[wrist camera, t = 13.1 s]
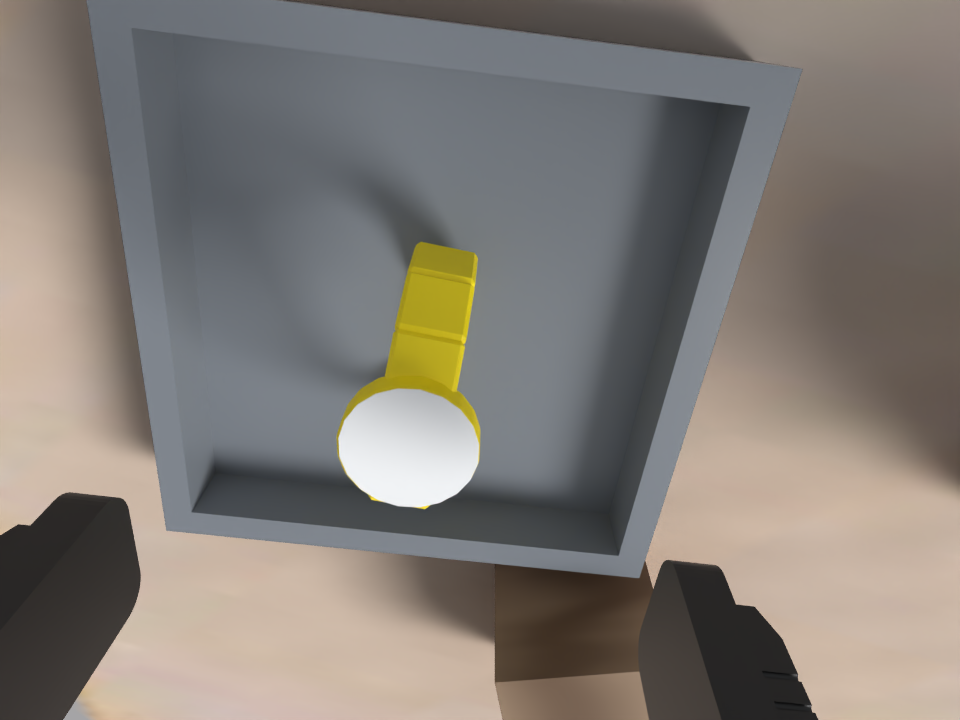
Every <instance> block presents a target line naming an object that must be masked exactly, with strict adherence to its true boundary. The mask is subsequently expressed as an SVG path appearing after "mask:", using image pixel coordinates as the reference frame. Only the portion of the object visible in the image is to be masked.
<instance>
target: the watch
mask: <svg viewBox="0 0 960 720" xmlns="http://www.w3.org/2000/svg"><path fill="white" fill-rule="evenodd" d="M477 262H478V257H477V256H476V254H475V253H473V252H468V251H464V250H459V249H454V248H449V247H444V246H439V245H435V244H430V243H425V242H420V243H418V244H417V245H416V246H415V249H414V252H413V255H412V259H411V262H410V265H409V268H408V273H407V276H406V280H405V284H404V288H403V293H402V297H401V301H400V306H399V310H398V314H397V319H396V323H395V332H394V333H393V337H392V342H391V347H390V352H389V357H388V362H387V368H386V373H385V376H384V377H380V378H378V379H376V380H374V381H373V382H371V383H369V384H368V385H366V386H364V387H363V388H361V389H360V390H359V391H358V392H357V394H356V395H355V396H354V397H353V398H352V400H351V401H350V402H349V403H348V405H347V407H346V410H345V412H344V415H343V418H342V420H341V423H340V426H339V429H338V432H337V436H336V439H337V454H338V458H339V460H340V462H341V465H342V467H343V469H344V471H345V473H346V475H347V476H348V477H349V478H350V479H351V480H352V481H353V482H354V484H355V485H356V486H357V487H358V488H359V489H361V490H362V491H364V492H365V493H367V494H368V496H369V497H370V499H371V500H375V501H381V502H386V503H389V504H392V505H396V506H403V507H415V508H421V509H426V508H427V507H429V506H430V505H432V504H437V503H441V502H442V501H444V500H446V499H448V498H450V497H452V496H454V495H456V494H457V493H458V492H459V491H460V490H461V489H462V488H463V487H464V486H465V485H466V484H467V483H468V482H469V481H470V480H471V478H472V476H473V474H474V472H475V470H476V467H477V465H478V463H479V455H480V426H479V423H478V420H477V416H476V413H475V411H474V409H473V407H472V406H471V405H470V404H469V402H468V401H467V400H466V398H465V397H464V396H463V395H462V394H461V393H460V392H459V391H457V387H458V381H459V376H460V371H461V366H462V360H463V355H464V350H465V346H464V344H465V342H466V339H467V333H468V327H469V320H470V314H471V308H472V302H473V296H474V290H475V288H474V287H475V282H476V272H477Z"/></svg>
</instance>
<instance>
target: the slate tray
mask: <svg viewBox="0 0 960 720" xmlns="http://www.w3.org/2000/svg"><path fill="white" fill-rule="evenodd" d="M87 7H88V14H89V20H90V27H91V34H92V40H93V47H94V53H95V60H96V67H97V73H98V80H99V87H100V93H101V100H102V107H103V113H104V120H105V126H106V133H107V140H108V146H109V153H110V160H111V166H112V173H113V180H114V186H115V193H116V199H117V206H118V213H119V219H120V226H121V233H122V239H123V246H124V253H125V259H126V266H127V272H128V279H129V286H130V292H131V299H132V306H133V312H134V319H135V325H136V332H137V339H138V345H139V352H140V359H141V365H142V372H143V379H144V385H145V392H146V398H147V405H148V412H149V418H150V425H151V432H152V438H153V445H154V452H155V458H156V465H157V471H158V478H159V485H160V491H161V498H162V505H163V511H164V518H165V525H166V531H176V532H186V533H196V534H206V535H215V536H225V537H235V538H245V539H255V540H265V541H275V542H285V543H295V544H305V545H315V546H324V547H334V548H344V549H354V550H364V551H374V552H384V553H394V554H404V555H414V556H423V557H433V558H443V559H453V560H463V561H473V562H483V563H493V564H503V565H513V566H522V567H532V568H542V569H552V570H562V571H572V572H582V573H592V574H602V575H612V576H622V577H631V578H640V574H641V571H642V568H643V565H644V562H645V559H646V556H647V553H648V549H649V546H650V543H651V540H652V537H653V534H654V531H655V528H656V525H657V521H658V518H659V515H660V512H661V509H662V506H663V503H664V500H665V496H666V493H667V490H668V487H669V484H670V481H671V478H672V475H673V472H674V468H675V465H676V462H677V459H678V456H679V453H680V450H681V447H682V444H683V440H684V437H685V434H686V431H687V428H688V425H689V422H690V419H691V415H692V412H693V409H694V406H695V403H696V400H697V397H698V394H699V391H700V387H701V384H702V381H703V378H704V375H705V372H706V369H707V366H708V362H709V359H710V356H711V353H712V350H713V347H714V344H715V341H716V338H717V334H718V331H719V328H720V325H721V322H722V319H723V316H724V313H725V309H726V306H727V303H728V300H729V297H730V294H731V291H732V288H733V285H734V281H735V278H736V275H737V272H738V269H739V266H740V263H741V260H742V256H743V253H744V250H745V247H746V244H747V241H748V238H749V235H750V232H751V228H752V225H753V222H754V219H755V216H756V213H757V210H758V207H759V204H760V200H761V197H762V194H763V191H764V188H765V185H766V182H767V179H768V175H769V172H770V169H771V166H772V163H773V160H774V157H775V154H776V151H777V147H778V144H779V141H780V138H781V135H782V132H783V129H784V126H785V122H786V119H787V116H788V113H789V110H790V107H791V104H792V101H793V98H794V94H795V91H796V88H797V85H798V82H799V79H800V76H801V73H802V69H800V68H794V67H787V66H781V65H775V64H769V63H763V62H757V61H749V60H742V59H734V58H726V57H719V56H711V55H703V54H696V53H688V52H680V51H673V50H665V49H657V48H650V47H642V46H634V45H627V44H619V43H611V42H604V41H596V40H588V39H580V38H573V37H565V36H557V35H550V34H542V33H534V32H527V31H519V30H511V29H504V28H496V27H488V26H481V25H473V24H465V23H458V22H450V21H442V20H435V19H427V18H419V17H411V16H404V15H396V14H388V13H381V12H373V11H365V10H358V9H350V8H342V7H335V6H327V5H319V4H312V3H304V2H296V1H289V0H87ZM420 242H425V243H430V244H435V245H439V246H444V247H449V248H454V249H459V250H464V251H468V252H473V253H475V254H476V256H477V257H478V262H477V272H476V282H475V287H474V288H475V290H474V296H473V302H472V308H471V314H470V320H469V327H468V333H467V339H466V342H465V344H464V346H465V350H464V355H463V360H462V366H461V371H460V376H459V381H458V387H457V391H459V392H460V393H461V394H462V395H463V396H464V397H465V398H466V400H467V401H468V402H469V404H470V405H471V406H472V407H473V409H474V411H475V413H476V416H477V420H478V423H479V426H480V455H479V463H478V465H477V467H476V470H475V472H474V474H473V476H472V478H471V480H470V481H469V482H468V483H467V484H466V485H465V486H464V487H463V488H462V489H461V490H460V491H459V492H458V493H457V494H456V495H454V496H452V497H450V498H448V499H446V500H444V501H442V502H441V503H437V504H432V505H430V506H429V507H427V508H426V509H421V508H415V507H403V506H396V505H392V504H389V503H386V502H381V501H375V500H371V499H370V497H369V496H368V494H367V493H365V492H364V491H362V490H361V489H359V488H358V487H357V486H356V485H355V484H354V482H353V481H352V480H351V479H350V478H349V477H348V476H347V475H346V473H345V471H344V469H343V467H342V465H341V462H340V460H339V458H338V454H337V439H336V436H337V432H338V429H339V426H340V423H341V420H342V418H343V415H344V412H345V410H346V407H347V405H348V403H349V402H350V401H351V400H352V398H353V397H354V396H355V395H356V394H357V392H358V391H359V390H360V389H361V388H363V387H364V386H366V385H368V384H369V383H371V382H373V381H374V380H376V379H378V378H380V377H384V376H385V373H386V368H387V362H388V357H389V352H390V347H391V342H392V337H393V333H394V332H395V323H396V319H397V314H398V310H399V306H400V301H401V297H402V293H403V288H404V284H405V280H406V276H407V273H408V268H409V265H410V262H411V259H412V255H413V252H414V249H415V246H416V245H417V244H418V243H420Z"/></svg>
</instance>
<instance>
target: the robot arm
mask: <svg viewBox="0 0 960 720" xmlns="http://www.w3.org/2000/svg"><path fill="white" fill-rule="evenodd" d="M140 580H141V574H140V567H139V562H138V557H137V551H136V546H135V541H134V535H133V530H132V525H131V519H130V514H129V509H128V506H127V504H126V502H125V501H124V500H123V499H122V498H116V497H107V496H98V495H89V494H79V493H70V492H69V493H65V494H62V495H61V496H59V497H58V498H57V499H56V500H54V501H53V502H52V504H51V505H50V506H49V507H48V508H47V509H46V510H45V511H44V512H43V513H42V514H41V515H40V516H39V517H38V518H37V519H36V520H35V521H34V522H33V523H32V524H31V526H29V525H19V524H18V525H17V526H15V527H13V528H12V529H10V530H8V531H7V532H5V533H3V534H2V535H0V720H63V719H64V718H65V716H66V714H67V713H68V711H69V710H70V708H71V707H72V705H73V704H74V702H75V700H76V699H77V697H78V696H79V694H80V693H81V691H82V689H83V688H84V686H85V685H86V683H87V682H88V680H89V679H90V677H91V675H92V674H93V672H94V671H95V669H96V668H97V666H98V664H99V663H100V661H101V660H102V658H103V657H104V655H105V654H106V652H107V650H108V649H109V647H110V646H111V644H112V643H113V641H114V639H115V638H116V636H117V635H118V633H119V632H120V630H121V629H122V627H123V625H124V624H125V622H126V621H127V619H128V618H129V616H130V614H131V612H132V610H133V608H134V605H135V603H136V600H137V597H138V593H139V588H140ZM638 663H639V672H640V677H641V682H642V687H643V692H644V697H645V702H646V707H647V712H648V717H649V720H818V718H817V716H816V714H815V713H812V710H811V706H812V705H811V702H810V700H809V698H808V696H807V693H806V691H805V689H804V687H803V684H802V682H799V681H798V673H797V671H796V669H795V667H794V664H793V662H792V660H791V658H790V655H789V653H788V651H787V649H786V646H785V644H784V642H783V640H782V638H781V637H780V636H779V635H778V633H777V632H776V631H775V630H774V629H773V628H772V626H771V625H770V624H769V623H768V622H767V621H766V620H765V618H764V617H763V616H762V615H761V614H760V613H759V611H758V610H757V609H756V608H755V607H753V606H743V605H736V604H735V601H734V599H733V596H732V593H731V591H730V588H729V586H728V583H727V581H726V578H725V576H724V574H723V572H722V570H721V569H720V568H719V567H718V566H716V565H708V564H699V563H690V562H681V561H672V560H666V561H664V563H663V564H662V566H661V568H660V571H659V574H658V577H657V580H656V583H655V586H654V589H653V592H652V595H651V598H650V602H649V605H648V608H647V611H646V614H645V617H644V620H643V623H642V626H641V630H640V635H639V643H638Z"/></svg>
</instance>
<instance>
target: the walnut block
mask: <svg viewBox="0 0 960 720" xmlns="http://www.w3.org/2000/svg"><path fill="white" fill-rule="evenodd" d="M652 592H653V587H652V584H651V580H650V576H649V573H648V569H647V566H646V562H644V565H643V568H642V571H641V574H640V578H631V577H622V576H612V575H602V574H592V573H582V572H572V571H562V570H552V569H542V568H532V567H522V566H513V565H503V564H495V686H496V690H497V695H498V700H499V705H500V709H501V714H502V719H503V720H649V717H648V712H647V707H646V702H645V697H644V692H643V687H642V682H641V677H640V672H639V663H638V643H639V635H640V630H641V626H642V623H643V620H644V617H645V614H646V611H647V608H648V605H649V602H650V598H651V595H652Z"/></svg>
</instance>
